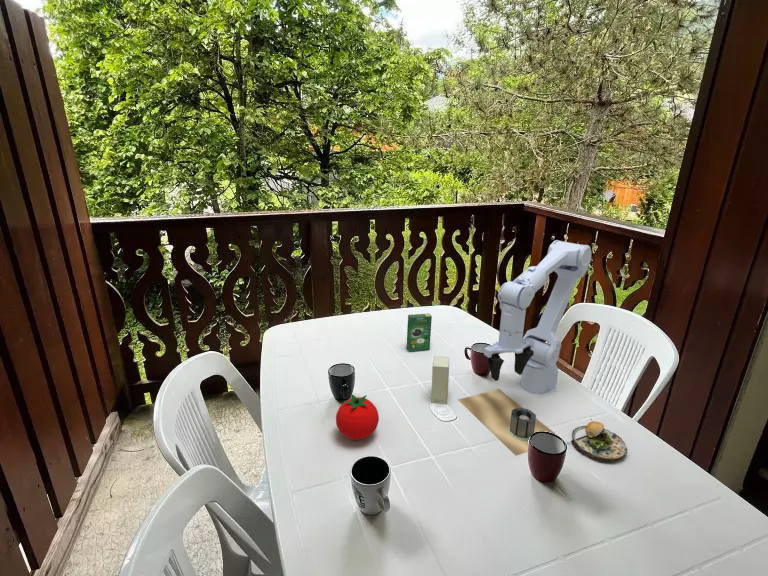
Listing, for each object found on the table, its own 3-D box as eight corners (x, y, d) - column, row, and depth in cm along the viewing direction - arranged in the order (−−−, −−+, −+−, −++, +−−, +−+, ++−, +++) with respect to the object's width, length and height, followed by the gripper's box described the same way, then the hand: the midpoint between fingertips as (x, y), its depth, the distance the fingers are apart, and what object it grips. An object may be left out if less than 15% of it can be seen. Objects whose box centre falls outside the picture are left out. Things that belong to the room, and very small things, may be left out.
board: (498, 391, 119) (500, 376, 118) (562, 443, 98) (565, 425, 97) (457, 402, 114) (458, 386, 113) (515, 459, 93) (517, 440, 92)
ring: (522, 421, 104) (524, 405, 103) (538, 434, 100) (541, 418, 98) (504, 426, 102) (506, 411, 101) (520, 440, 98) (522, 424, 96)
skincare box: (446, 407, 112) (449, 367, 108) (430, 405, 113) (432, 366, 109) (448, 395, 118) (450, 356, 114) (432, 393, 119) (434, 355, 115)
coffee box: (428, 346, 147) (429, 312, 143) (430, 350, 144) (432, 315, 140) (406, 348, 146) (407, 314, 141) (408, 352, 143) (409, 317, 139)
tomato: (384, 426, 104) (384, 391, 101) (369, 453, 95) (369, 416, 92) (346, 417, 108) (345, 384, 105) (329, 443, 98) (327, 407, 95)
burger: (603, 471, 90) (609, 443, 88) (559, 440, 100) (563, 413, 98) (637, 454, 95) (644, 427, 93) (592, 425, 105) (597, 400, 103)
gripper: (498, 339, 98) (493, 389, 103) (545, 330, 104) (538, 377, 108) (480, 328, 104) (476, 375, 109) (526, 320, 110) (520, 365, 114)
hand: (506, 375), depth 109 cm, fingers open, 7 cm apart
